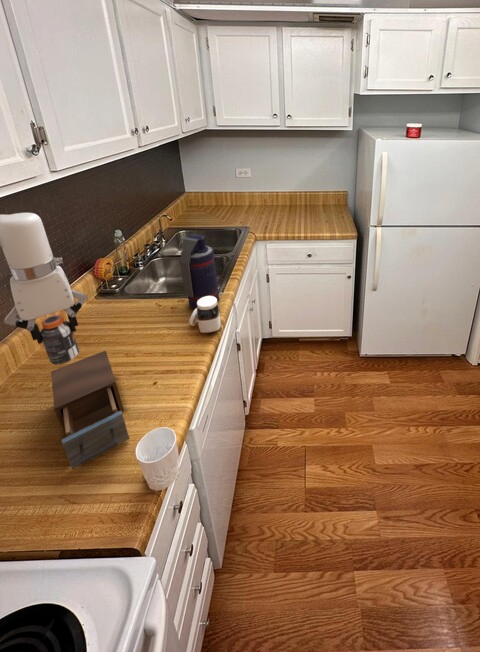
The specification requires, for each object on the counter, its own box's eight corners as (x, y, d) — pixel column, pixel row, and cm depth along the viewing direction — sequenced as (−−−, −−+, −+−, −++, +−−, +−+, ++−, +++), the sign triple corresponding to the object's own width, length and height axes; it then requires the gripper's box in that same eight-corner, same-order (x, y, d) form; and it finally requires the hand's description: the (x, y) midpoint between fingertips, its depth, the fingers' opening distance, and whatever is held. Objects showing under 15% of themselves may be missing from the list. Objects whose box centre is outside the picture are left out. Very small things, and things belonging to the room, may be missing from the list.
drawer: (134, 453, 78) (126, 428, 74) (74, 487, 71) (63, 461, 68) (118, 401, 91) (111, 378, 88) (67, 426, 84) (57, 401, 81)
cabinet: (124, 410, 89) (115, 381, 85) (66, 439, 82) (54, 408, 78) (113, 377, 100) (105, 350, 96) (61, 399, 92) (50, 371, 89)
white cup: (160, 501, 69) (151, 470, 66) (136, 481, 73) (127, 450, 69) (190, 467, 76) (183, 437, 72) (167, 451, 79) (160, 421, 75)
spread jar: (221, 335, 118) (217, 307, 114) (187, 340, 115) (183, 312, 111) (221, 315, 129) (218, 289, 124) (191, 319, 126) (186, 293, 122)
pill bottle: (84, 352, 84) (72, 315, 79) (58, 368, 79) (44, 330, 74) (70, 345, 86) (58, 309, 82) (45, 360, 81) (30, 322, 77)
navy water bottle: (202, 293, 143) (193, 228, 132) (225, 299, 139) (217, 233, 128) (179, 311, 131) (167, 241, 120) (203, 317, 127) (193, 247, 116)
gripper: (78, 252, 81) (96, 313, 88) (-18, 274, 71) (10, 341, 77) (83, 263, 76) (101, 327, 82) (-21, 288, 65) (10, 360, 72)
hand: (57, 334), depth 80 cm, fingers closed on pill bottle, 6 cm apart
